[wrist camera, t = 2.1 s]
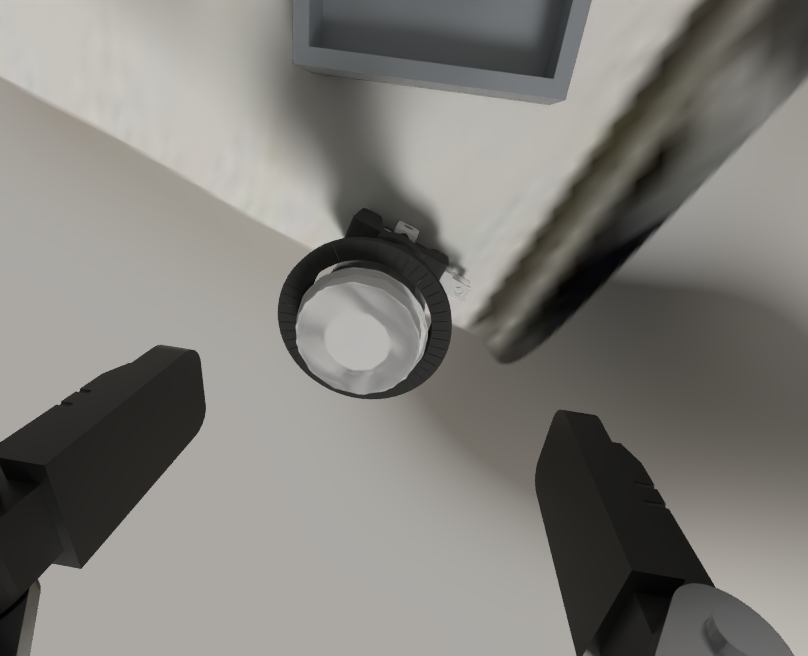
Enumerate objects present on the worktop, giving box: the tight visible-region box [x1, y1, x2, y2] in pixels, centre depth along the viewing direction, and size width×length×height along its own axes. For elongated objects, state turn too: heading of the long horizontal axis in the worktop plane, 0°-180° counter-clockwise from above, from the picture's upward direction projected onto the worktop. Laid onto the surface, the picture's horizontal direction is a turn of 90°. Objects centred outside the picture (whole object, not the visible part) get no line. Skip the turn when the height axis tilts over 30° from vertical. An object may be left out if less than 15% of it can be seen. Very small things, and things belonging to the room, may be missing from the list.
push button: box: [278, 208, 471, 399], centre depth 16 cm, size 7×5×10 cm
